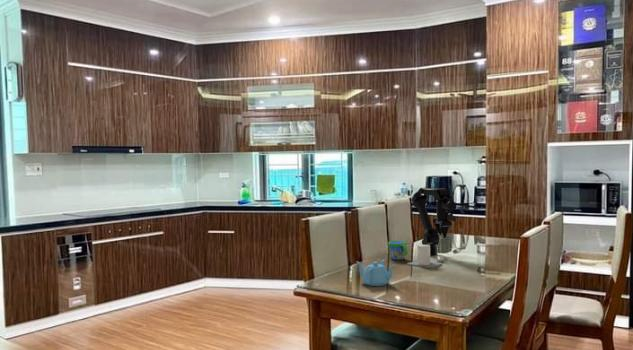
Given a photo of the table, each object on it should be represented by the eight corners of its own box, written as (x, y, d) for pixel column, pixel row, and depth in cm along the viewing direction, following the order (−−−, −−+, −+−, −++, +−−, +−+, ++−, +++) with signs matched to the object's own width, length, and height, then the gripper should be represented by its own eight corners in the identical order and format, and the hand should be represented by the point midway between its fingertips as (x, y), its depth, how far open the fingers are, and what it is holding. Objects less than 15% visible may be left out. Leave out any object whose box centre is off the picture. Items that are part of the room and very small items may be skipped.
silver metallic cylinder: (435, 262, 260) (435, 256, 260) (438, 261, 262) (438, 255, 262) (441, 262, 257) (441, 257, 257) (444, 261, 260) (444, 256, 260)
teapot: (365, 289, 209) (365, 266, 209) (356, 281, 224) (355, 260, 224) (396, 286, 212) (395, 264, 212) (384, 278, 227) (383, 257, 227)
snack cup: (412, 260, 266) (412, 243, 266) (397, 262, 262) (396, 244, 262) (398, 256, 281) (397, 239, 280) (383, 258, 277) (382, 241, 276)
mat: (406, 264, 255) (406, 263, 255) (416, 261, 262) (416, 260, 262) (432, 268, 244) (432, 267, 244) (442, 265, 251) (441, 263, 251)
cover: (419, 262, 257) (418, 244, 257) (430, 262, 255) (429, 244, 255) (418, 264, 251) (417, 246, 251) (429, 264, 249) (428, 246, 249)
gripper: (460, 210, 258) (461, 238, 259) (450, 207, 277) (451, 233, 277) (440, 211, 258) (441, 239, 259) (432, 208, 277) (433, 234, 277)
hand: (442, 236), depth 268 cm, fingers open, 9 cm apart
